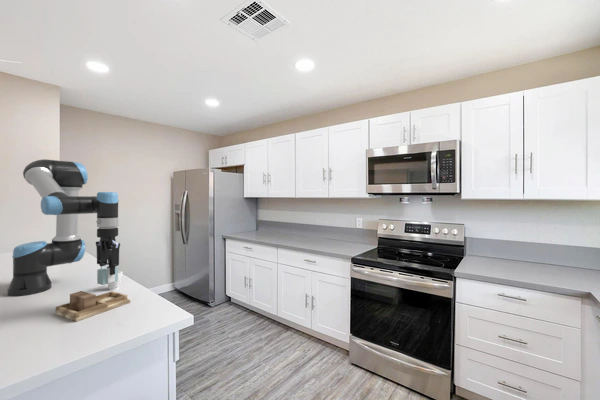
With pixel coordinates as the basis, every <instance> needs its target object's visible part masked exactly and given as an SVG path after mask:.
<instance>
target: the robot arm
mask: <svg viewBox="0 0 600 400" xmlns="http://www.w3.org/2000/svg"><path fill="white" fill-rule="evenodd" d="M22 175H23V178H24V180H25V182H27V183H28V184H29V185H31V186H32V187H33V188H35V190H36V192H37V193H38V195H39V196H40V197H41V200H40V209H41V210H40V211H41V212H42V213H43V215H46V216H47V215H48V216H49V215H50V216H51V215H52V216H55V217H56V219H55V220H56V222H55V223H56V224H55V227H56V228H55V236H54V237H53V238H51V242H49V243H48V242H47V241H46V240H40V241H32V242H28V243H22V244H19V245H17V246H15V247H14V248H13V250H12V257H11V258H12V279H11V281H10V284H9V286H8V288H7V296H11V297H19V296H28V295H29V296H30V295H34V294H38V293H42V292H45V291H48V290H50V289H51V288H52V286H53V285H52V281H51V279H50V276H49V275H48V267H52V266H59V265H65V264H72V263H76V262H80V261H81V260H82V259H83V257H84V256H85V254H86V253H85V252H86V243H85V241H84V240H83V239H82V238H81V237H80V235H79V234H78V229H79V228H78V227H79V226H78V221H79V215H81V214H82V215H83V214H96V227H97V229H96V237H97V238H100V239H99V240H98V241H95V246H96V264H97V265H99V266H100V269H103V268H107V283H111V282H115V267H118V266H119V265H120V246H121V243H120V242H117V239H116V237H118V236H119V228H118V226H119V194H118V192H115V191H99V192H98V191H97V193H96V196H90V195H89V196H87V195H85V196H79V195H80V194H79V192H80V191H81V189H83V185H86V184H87V183H88V180H89V178H88V171H87V168H86V167H85V165H84V164H83V163H81V162H78V161H77V162H76V161H67V160H64V161H63V160H55V159H46V158H45V159H37V160H33V161H32V162H30V163H29V164H27V165H26V166H25V167H24V169H23V171H22Z"/></svg>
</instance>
